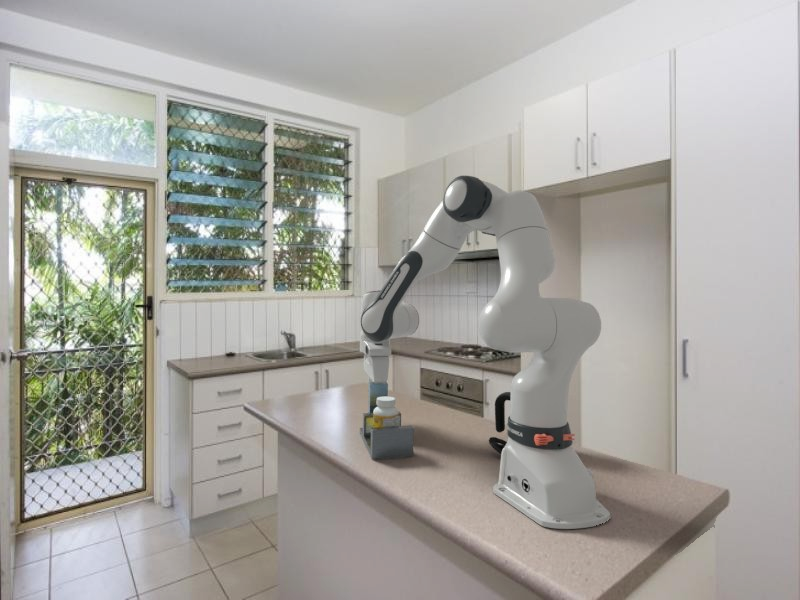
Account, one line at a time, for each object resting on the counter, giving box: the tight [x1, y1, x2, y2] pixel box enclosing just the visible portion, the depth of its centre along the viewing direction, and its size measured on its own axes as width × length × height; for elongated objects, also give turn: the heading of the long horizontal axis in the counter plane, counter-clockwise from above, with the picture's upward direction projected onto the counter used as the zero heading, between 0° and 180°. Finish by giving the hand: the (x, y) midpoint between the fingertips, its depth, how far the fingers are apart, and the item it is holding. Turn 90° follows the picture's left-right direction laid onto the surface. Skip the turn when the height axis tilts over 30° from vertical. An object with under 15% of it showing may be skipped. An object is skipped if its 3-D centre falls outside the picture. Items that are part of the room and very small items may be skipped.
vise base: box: [359, 424, 414, 461], centre depth 116 cm, size 20×10×7 cm, turn 14°
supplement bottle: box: [373, 396, 399, 428], centre depth 113 cm, size 6×6×11 cm
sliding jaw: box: [362, 381, 402, 436], centre depth 122 cm, size 9×10×12 cm
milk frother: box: [488, 391, 511, 455], centre depth 113 cm, size 14×16×15 cm
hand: (374, 392), depth 132 cm, fingers closed
